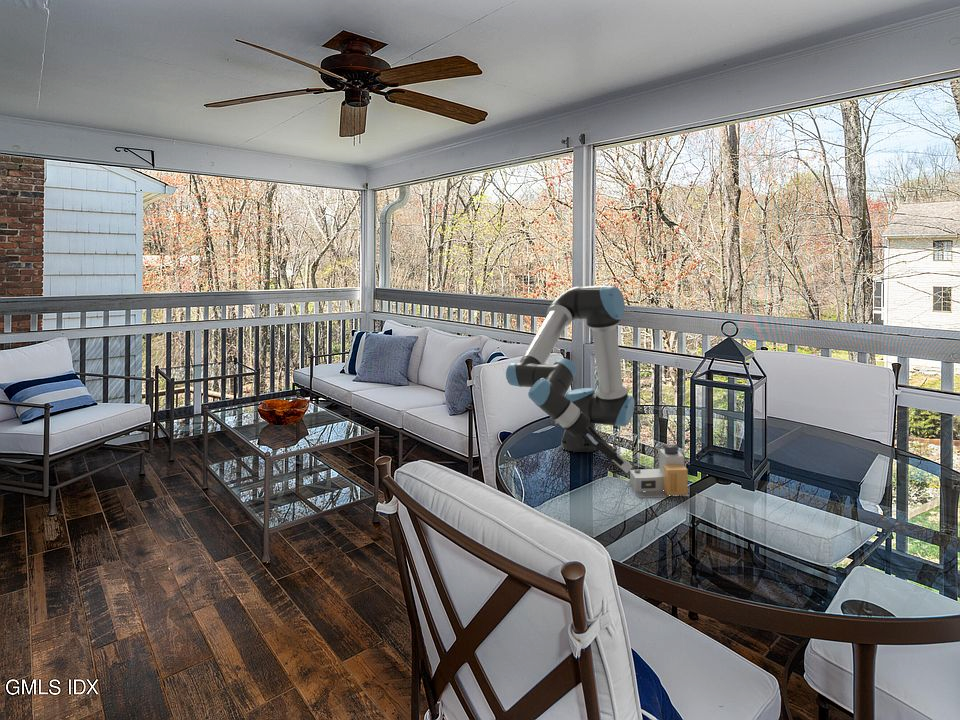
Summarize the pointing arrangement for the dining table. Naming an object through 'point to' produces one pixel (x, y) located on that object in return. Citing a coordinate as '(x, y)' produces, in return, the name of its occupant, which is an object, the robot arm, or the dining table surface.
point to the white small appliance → (655, 474)
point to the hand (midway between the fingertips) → (629, 469)
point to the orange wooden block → (675, 479)
